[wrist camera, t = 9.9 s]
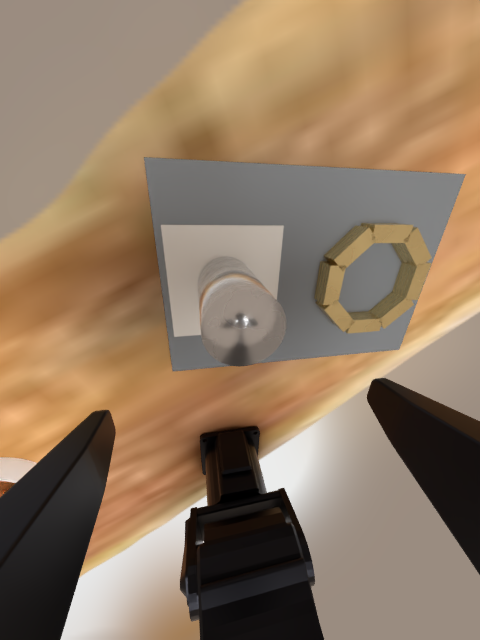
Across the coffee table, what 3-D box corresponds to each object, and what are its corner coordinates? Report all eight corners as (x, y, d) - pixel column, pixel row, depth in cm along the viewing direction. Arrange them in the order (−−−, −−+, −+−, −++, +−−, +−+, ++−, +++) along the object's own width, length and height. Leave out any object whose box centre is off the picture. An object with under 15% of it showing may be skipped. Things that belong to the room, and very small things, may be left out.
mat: (272, 327, 20) (273, 329, 19) (174, 334, 18) (174, 336, 18) (282, 225, 16) (283, 225, 16) (161, 224, 15) (160, 224, 15)
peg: (253, 255, 16) (291, 287, 10) (251, 308, 18) (281, 362, 12) (195, 256, 16) (198, 291, 10) (199, 311, 17) (203, 370, 11)
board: (391, 344, 24) (399, 349, 24) (173, 364, 21) (172, 371, 20) (452, 175, 18) (465, 174, 17) (147, 160, 14) (144, 157, 13)
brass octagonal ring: (393, 321, 22) (406, 328, 20) (309, 327, 20) (317, 336, 19) (427, 223, 18) (446, 225, 17) (326, 222, 17) (338, 224, 15)
